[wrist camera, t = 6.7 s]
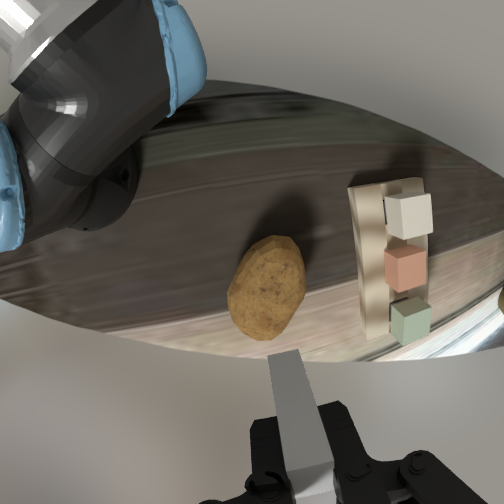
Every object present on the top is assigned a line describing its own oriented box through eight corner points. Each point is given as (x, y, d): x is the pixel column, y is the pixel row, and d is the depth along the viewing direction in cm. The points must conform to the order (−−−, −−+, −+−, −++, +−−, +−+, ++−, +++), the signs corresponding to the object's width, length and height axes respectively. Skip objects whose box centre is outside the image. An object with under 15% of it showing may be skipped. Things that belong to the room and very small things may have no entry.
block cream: (376, 195, 35) (400, 199, 29) (405, 190, 35) (430, 193, 29) (380, 230, 36) (403, 239, 30) (408, 223, 36) (432, 232, 30)
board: (347, 187, 37) (353, 188, 34) (413, 177, 37) (422, 177, 34) (361, 333, 43) (366, 340, 41) (418, 313, 43) (425, 319, 41)
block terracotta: (377, 247, 39) (397, 258, 33) (403, 240, 39) (425, 250, 33) (379, 277, 40) (398, 292, 34) (404, 270, 40) (425, 283, 34)
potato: (311, 237, 38) (329, 251, 31) (283, 324, 42) (291, 354, 34) (243, 219, 37) (245, 230, 30) (220, 311, 41) (216, 340, 33)
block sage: (385, 299, 39) (404, 317, 33) (410, 291, 39) (431, 306, 33) (385, 326, 40) (402, 345, 34) (409, 317, 40) (428, 335, 34)
